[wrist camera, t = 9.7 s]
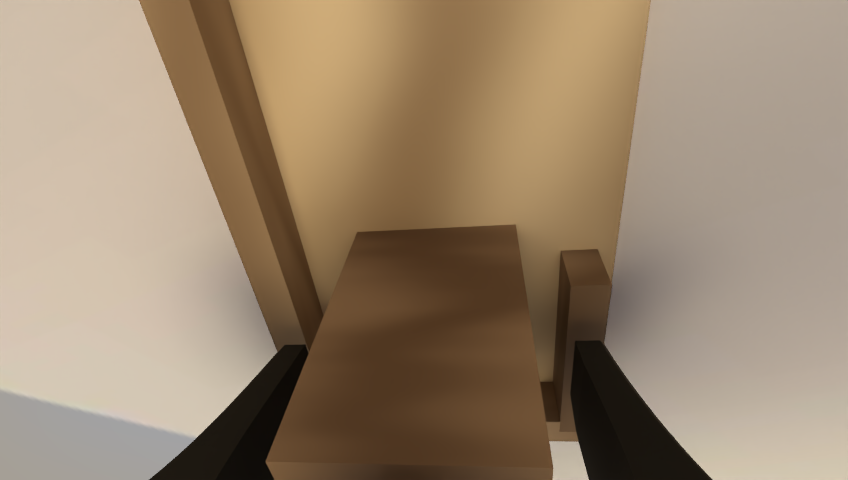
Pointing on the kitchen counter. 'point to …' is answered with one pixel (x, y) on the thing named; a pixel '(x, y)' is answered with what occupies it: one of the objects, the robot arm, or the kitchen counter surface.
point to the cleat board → (415, 142)
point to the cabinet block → (421, 366)
